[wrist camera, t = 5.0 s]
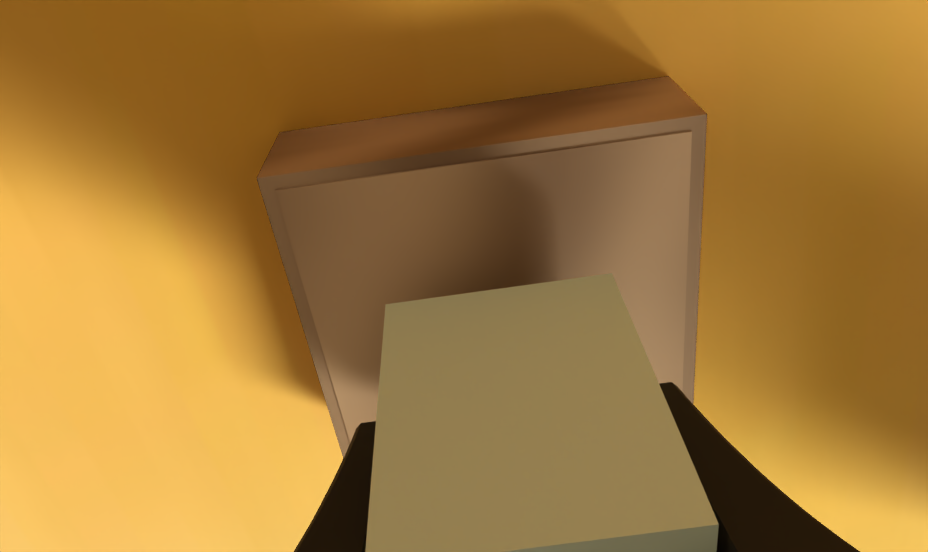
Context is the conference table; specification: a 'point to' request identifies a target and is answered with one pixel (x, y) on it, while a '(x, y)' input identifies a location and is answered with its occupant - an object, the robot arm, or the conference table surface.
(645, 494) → the sage block
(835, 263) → the conference table surface
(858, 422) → the conference table surface
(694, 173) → the walnut box
